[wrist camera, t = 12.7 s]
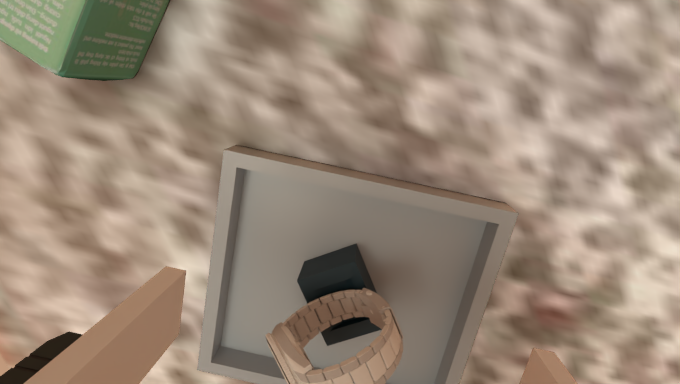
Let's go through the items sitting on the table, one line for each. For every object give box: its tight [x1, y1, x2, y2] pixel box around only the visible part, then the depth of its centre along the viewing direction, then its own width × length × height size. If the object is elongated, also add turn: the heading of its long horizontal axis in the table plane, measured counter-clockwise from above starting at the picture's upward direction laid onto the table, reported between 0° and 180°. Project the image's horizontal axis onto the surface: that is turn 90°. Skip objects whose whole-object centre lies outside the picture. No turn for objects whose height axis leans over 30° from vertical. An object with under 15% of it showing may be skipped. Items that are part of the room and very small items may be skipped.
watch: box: [266, 243, 404, 384], centre depth 24 cm, size 6×8×11 cm
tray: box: [197, 145, 519, 384], centre depth 28 cm, size 18×20×2 cm
